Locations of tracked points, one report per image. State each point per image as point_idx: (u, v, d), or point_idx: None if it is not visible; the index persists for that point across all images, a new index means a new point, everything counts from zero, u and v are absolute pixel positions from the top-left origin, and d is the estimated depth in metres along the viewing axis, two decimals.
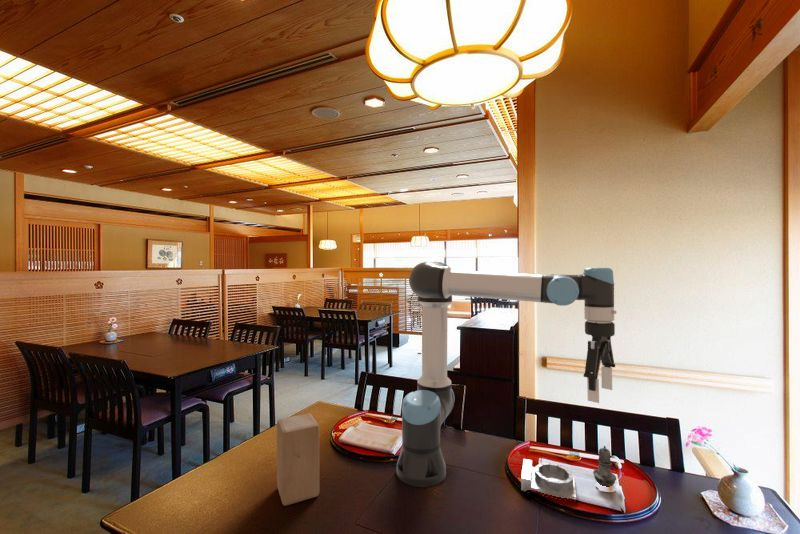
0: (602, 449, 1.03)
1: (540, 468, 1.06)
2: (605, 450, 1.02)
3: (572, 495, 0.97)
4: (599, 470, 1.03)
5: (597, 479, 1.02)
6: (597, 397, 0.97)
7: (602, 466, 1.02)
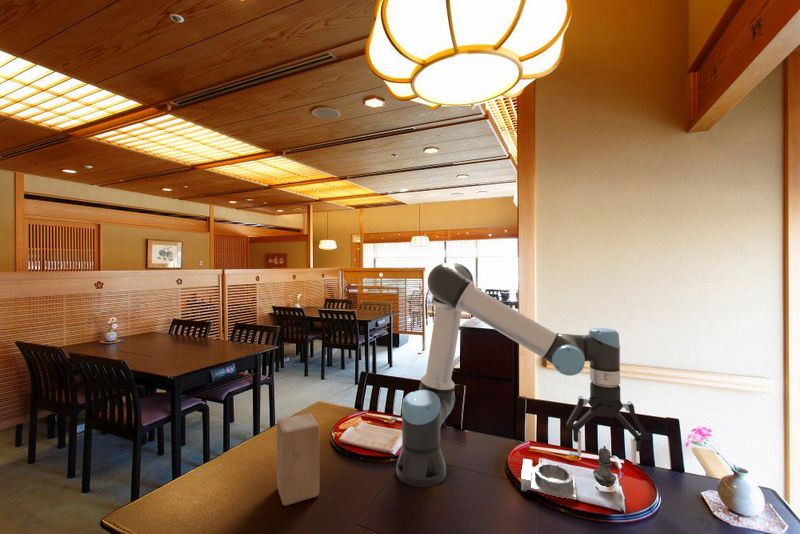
0: (602, 449, 1.03)
1: (540, 468, 1.06)
2: (605, 450, 1.02)
3: (572, 495, 0.97)
4: (599, 470, 1.03)
5: (597, 479, 1.02)
6: (578, 449, 1.04)
7: (602, 466, 1.02)
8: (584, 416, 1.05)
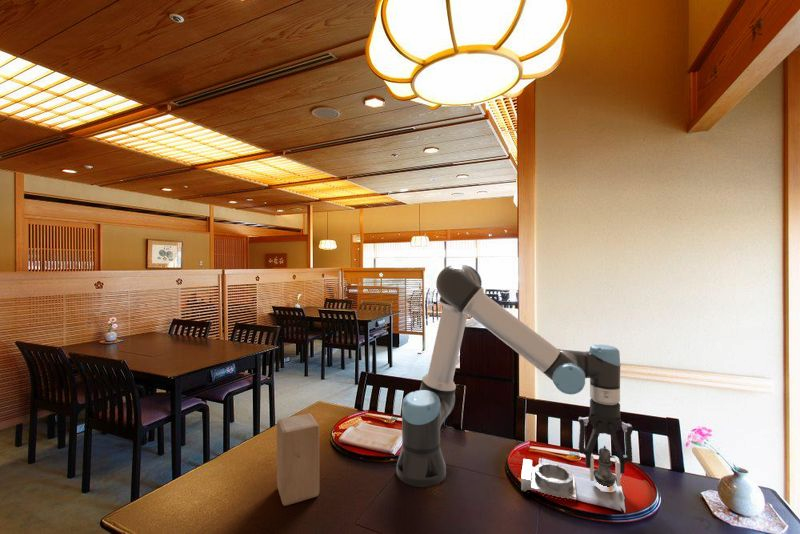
0: (602, 449, 1.03)
1: (540, 468, 1.06)
2: (605, 450, 1.02)
3: (572, 495, 0.97)
4: (599, 470, 1.03)
5: (597, 479, 1.02)
6: (590, 475, 1.03)
7: (602, 466, 1.02)
8: (590, 438, 1.04)
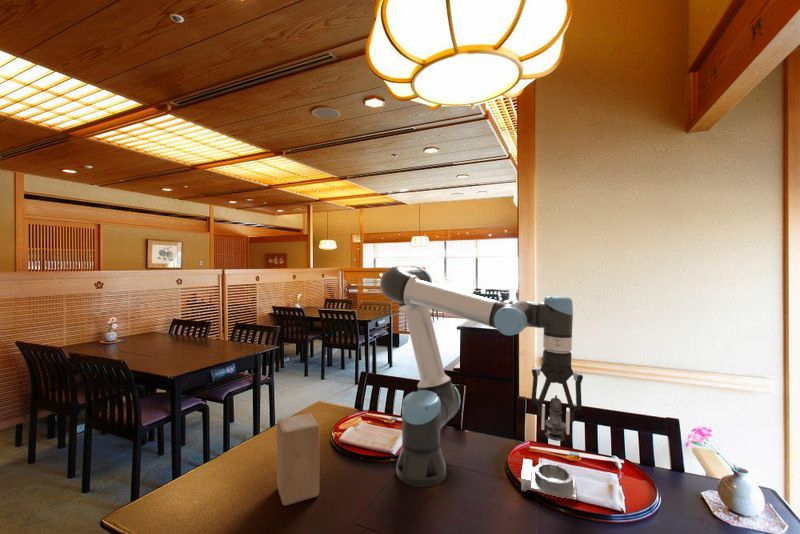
0: (553, 398, 1.03)
1: (540, 468, 1.06)
2: (556, 399, 1.03)
3: (572, 495, 0.97)
4: (550, 419, 1.03)
5: (547, 428, 1.03)
6: None
7: (553, 415, 1.02)
8: (543, 388, 1.05)
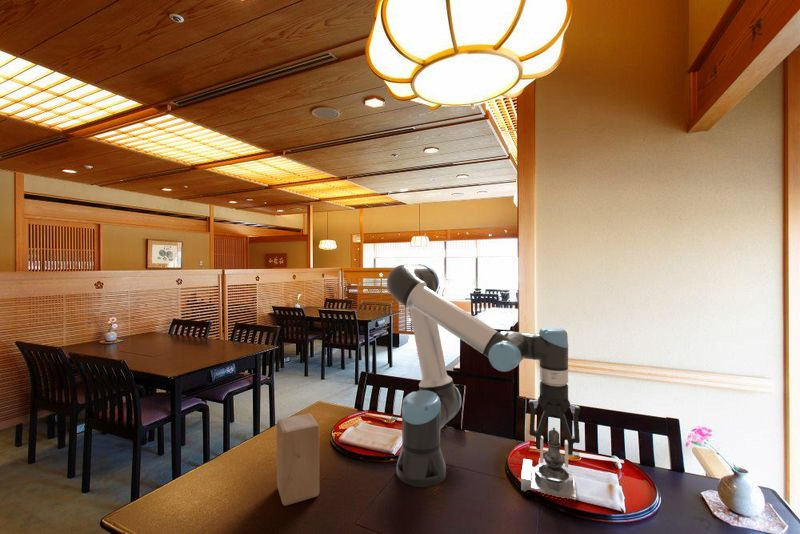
0: (551, 431, 1.03)
1: (540, 468, 1.06)
2: (554, 432, 1.02)
3: (572, 495, 0.97)
4: (548, 452, 1.03)
5: (546, 460, 1.02)
6: (540, 456, 1.03)
7: (551, 448, 1.02)
8: (540, 420, 1.04)
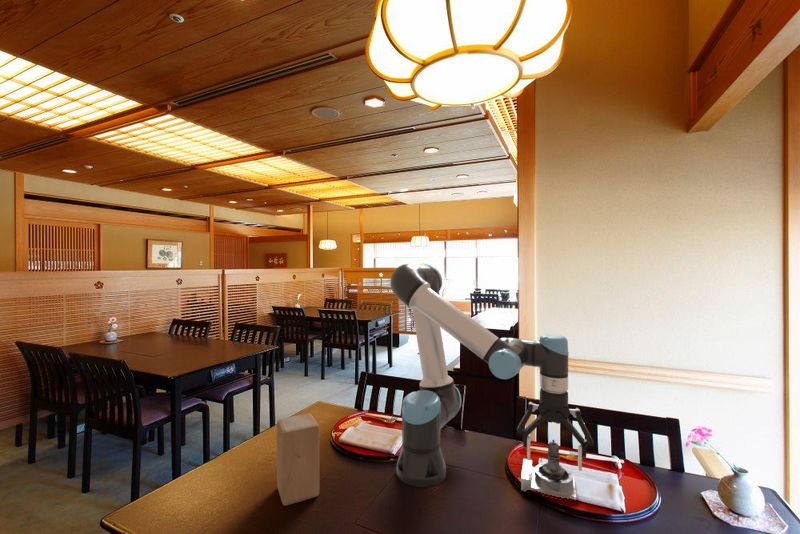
0: (551, 443, 1.03)
1: (540, 468, 1.06)
2: (553, 444, 1.02)
3: (572, 495, 0.97)
4: (548, 464, 1.03)
5: (546, 473, 1.02)
6: (527, 454, 1.05)
7: (550, 460, 1.02)
8: (533, 422, 1.05)
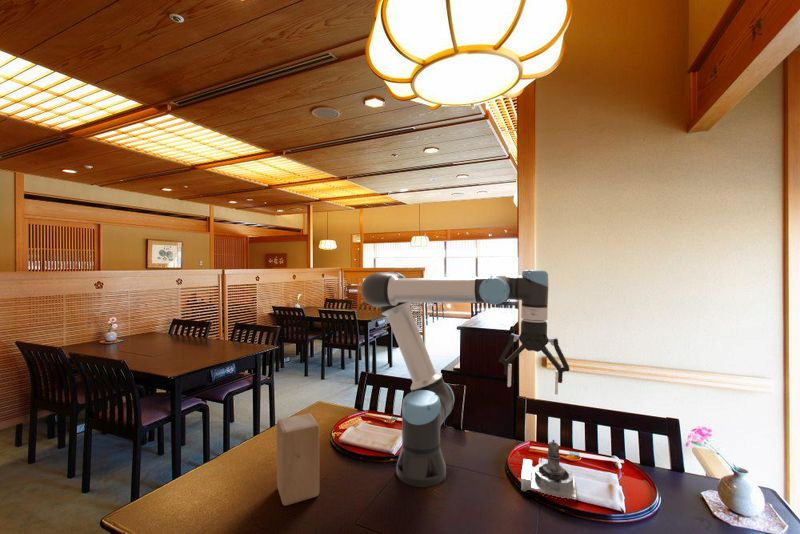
0: (551, 443, 1.03)
1: (540, 468, 1.06)
2: (554, 444, 1.03)
3: (572, 495, 0.97)
4: (548, 464, 1.03)
5: (546, 473, 1.02)
6: None
7: (550, 460, 1.02)
8: (515, 351, 1.12)
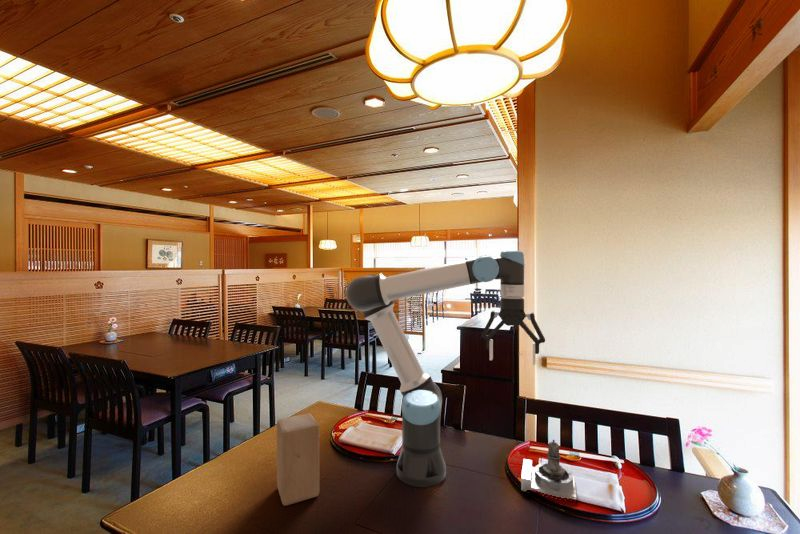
0: (551, 443, 1.03)
1: (540, 468, 1.06)
2: (554, 444, 1.03)
3: (572, 495, 0.97)
4: (548, 464, 1.03)
5: (546, 473, 1.02)
6: (489, 355, 1.21)
7: (550, 460, 1.02)
8: None
